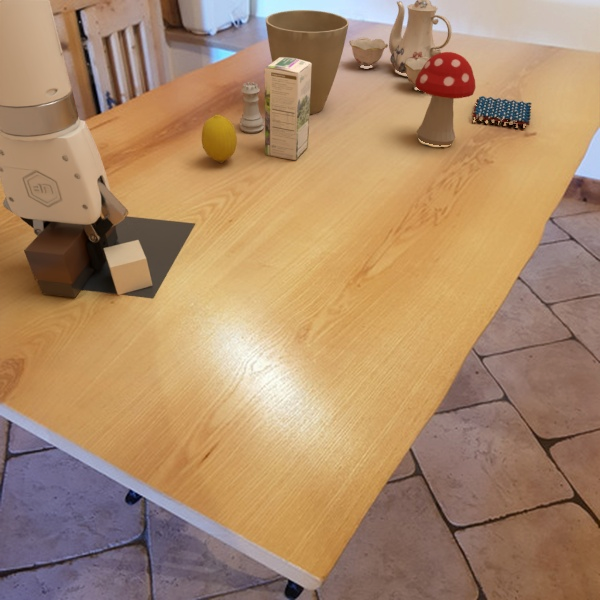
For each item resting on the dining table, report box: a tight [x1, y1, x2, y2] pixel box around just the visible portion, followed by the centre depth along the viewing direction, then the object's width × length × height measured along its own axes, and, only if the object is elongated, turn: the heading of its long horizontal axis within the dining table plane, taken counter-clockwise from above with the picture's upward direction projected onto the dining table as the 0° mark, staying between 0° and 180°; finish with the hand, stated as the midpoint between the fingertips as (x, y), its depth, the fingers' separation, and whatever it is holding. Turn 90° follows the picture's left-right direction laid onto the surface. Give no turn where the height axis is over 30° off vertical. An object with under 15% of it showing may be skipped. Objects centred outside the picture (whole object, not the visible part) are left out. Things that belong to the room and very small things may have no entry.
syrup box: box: [264, 57, 312, 161], centre depth 89 cm, size 6×6×14 cm
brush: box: [23, 206, 118, 299], centre depth 64 cm, size 12×4×6 cm, turn 171°
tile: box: [80, 215, 196, 299], centre depth 69 cm, size 12×16×1 cm
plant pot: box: [265, 9, 350, 115], centre depth 103 cm, size 15×15×16 cm
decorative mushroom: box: [415, 51, 476, 146], centre depth 93 cm, size 10×9×15 cm
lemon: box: [201, 113, 238, 164], centre depth 87 cm, size 6×6×8 cm
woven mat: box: [471, 95, 532, 127], centre depth 106 cm, size 10×11×2 cm
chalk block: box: [104, 240, 152, 296], centre depth 63 cm, size 4×4×4 cm
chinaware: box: [348, 0, 453, 87], centre depth 119 cm, size 28×17×17 cm, turn 42°
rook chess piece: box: [239, 81, 265, 134], centre depth 98 cm, size 4×4×8 cm
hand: (80, 259), depth 66 cm, fingers closed on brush, 4 cm apart
